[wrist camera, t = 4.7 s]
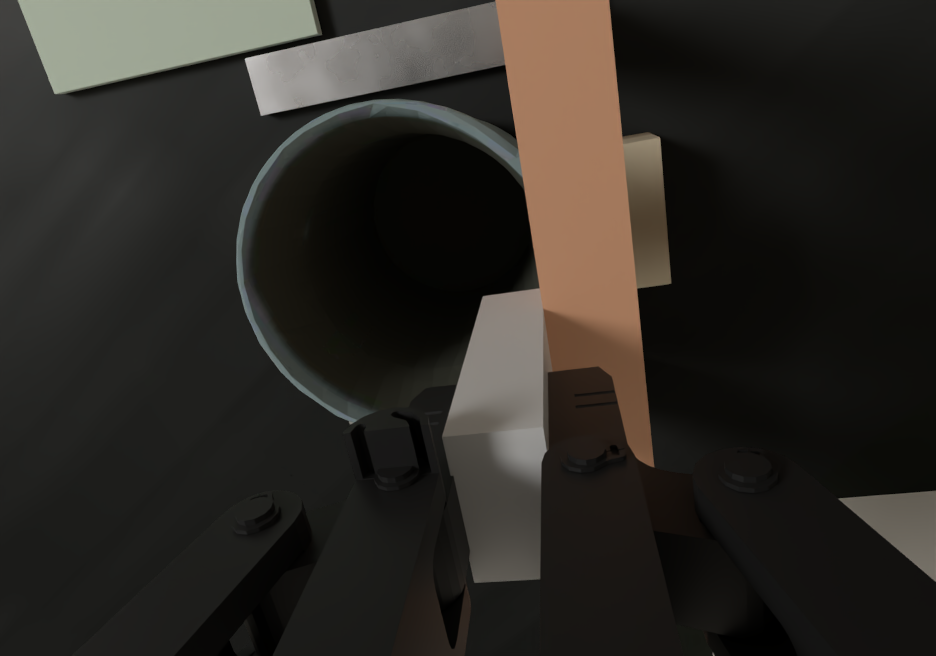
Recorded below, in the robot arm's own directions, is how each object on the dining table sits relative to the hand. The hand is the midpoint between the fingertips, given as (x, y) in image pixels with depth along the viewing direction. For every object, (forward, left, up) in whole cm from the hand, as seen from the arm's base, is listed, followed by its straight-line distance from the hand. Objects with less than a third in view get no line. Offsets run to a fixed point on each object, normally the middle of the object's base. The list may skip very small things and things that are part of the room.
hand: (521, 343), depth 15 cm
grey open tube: (-1, -4, -15) cm, 15 cm away
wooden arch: (0, +2, -15) cm, 15 cm away
